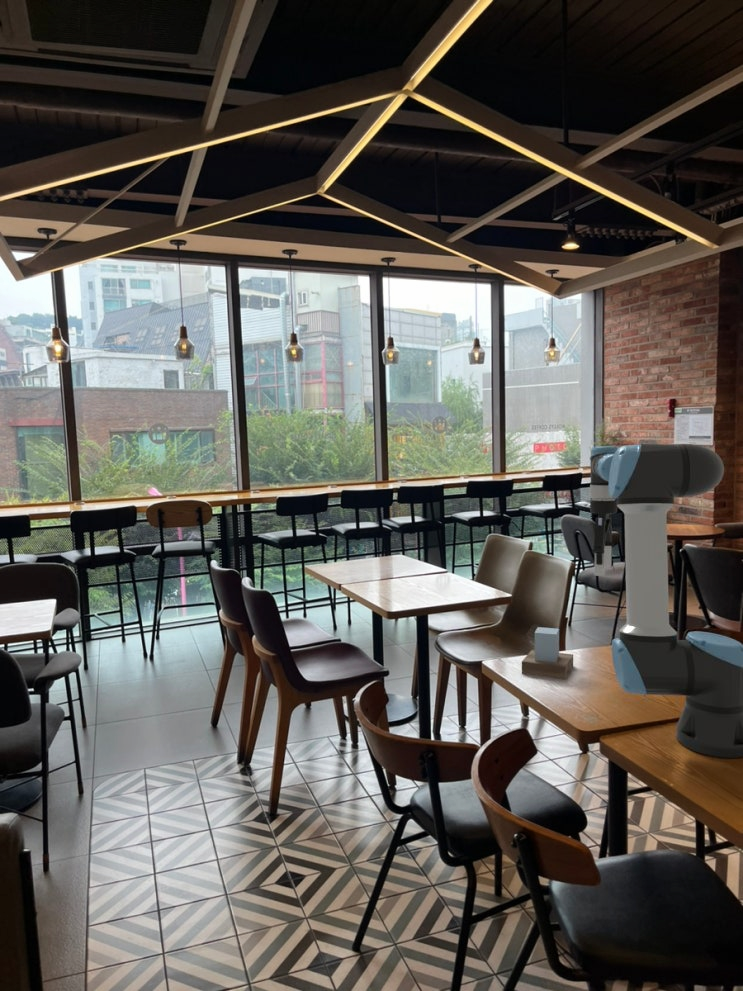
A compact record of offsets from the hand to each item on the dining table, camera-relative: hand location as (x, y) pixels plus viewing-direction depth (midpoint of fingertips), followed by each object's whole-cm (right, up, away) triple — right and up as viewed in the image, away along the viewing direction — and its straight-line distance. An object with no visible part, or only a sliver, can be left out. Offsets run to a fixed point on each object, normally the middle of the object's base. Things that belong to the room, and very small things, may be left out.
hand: (603, 571), depth 203 cm
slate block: (-18, -24, -6) cm, 31 cm away
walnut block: (-18, -28, -5) cm, 34 cm away
